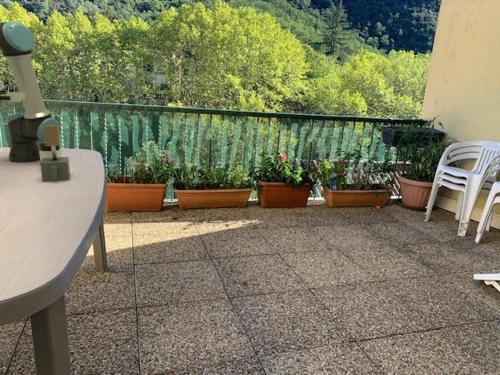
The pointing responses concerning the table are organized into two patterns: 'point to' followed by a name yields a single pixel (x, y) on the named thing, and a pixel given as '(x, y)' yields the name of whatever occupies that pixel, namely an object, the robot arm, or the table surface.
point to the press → (55, 169)
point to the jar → (48, 151)
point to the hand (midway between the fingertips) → (22, 97)
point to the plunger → (52, 138)
